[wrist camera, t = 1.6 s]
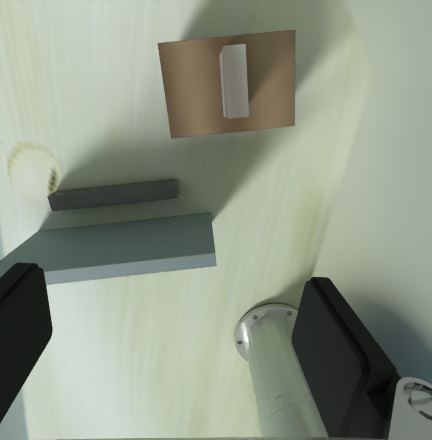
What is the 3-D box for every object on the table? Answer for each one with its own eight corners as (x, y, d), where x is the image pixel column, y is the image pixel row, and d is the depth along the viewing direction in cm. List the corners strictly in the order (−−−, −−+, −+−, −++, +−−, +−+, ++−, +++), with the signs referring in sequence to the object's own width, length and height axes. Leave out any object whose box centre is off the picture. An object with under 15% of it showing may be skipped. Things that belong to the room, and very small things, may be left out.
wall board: (210, 212, 40) (215, 253, 29) (211, 222, 41) (216, 265, 30) (37, 231, 40) (-25, 279, 29) (41, 241, 40) (-19, 292, 29)
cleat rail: (176, 178, 38) (175, 182, 36) (178, 193, 39) (177, 197, 37) (55, 191, 38) (47, 196, 36) (59, 205, 39) (52, 211, 37)
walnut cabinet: (271, 48, 34) (316, 12, 21) (272, 121, 36) (313, 129, 23) (167, 59, 33) (148, 28, 20) (177, 131, 36) (166, 144, 23)
